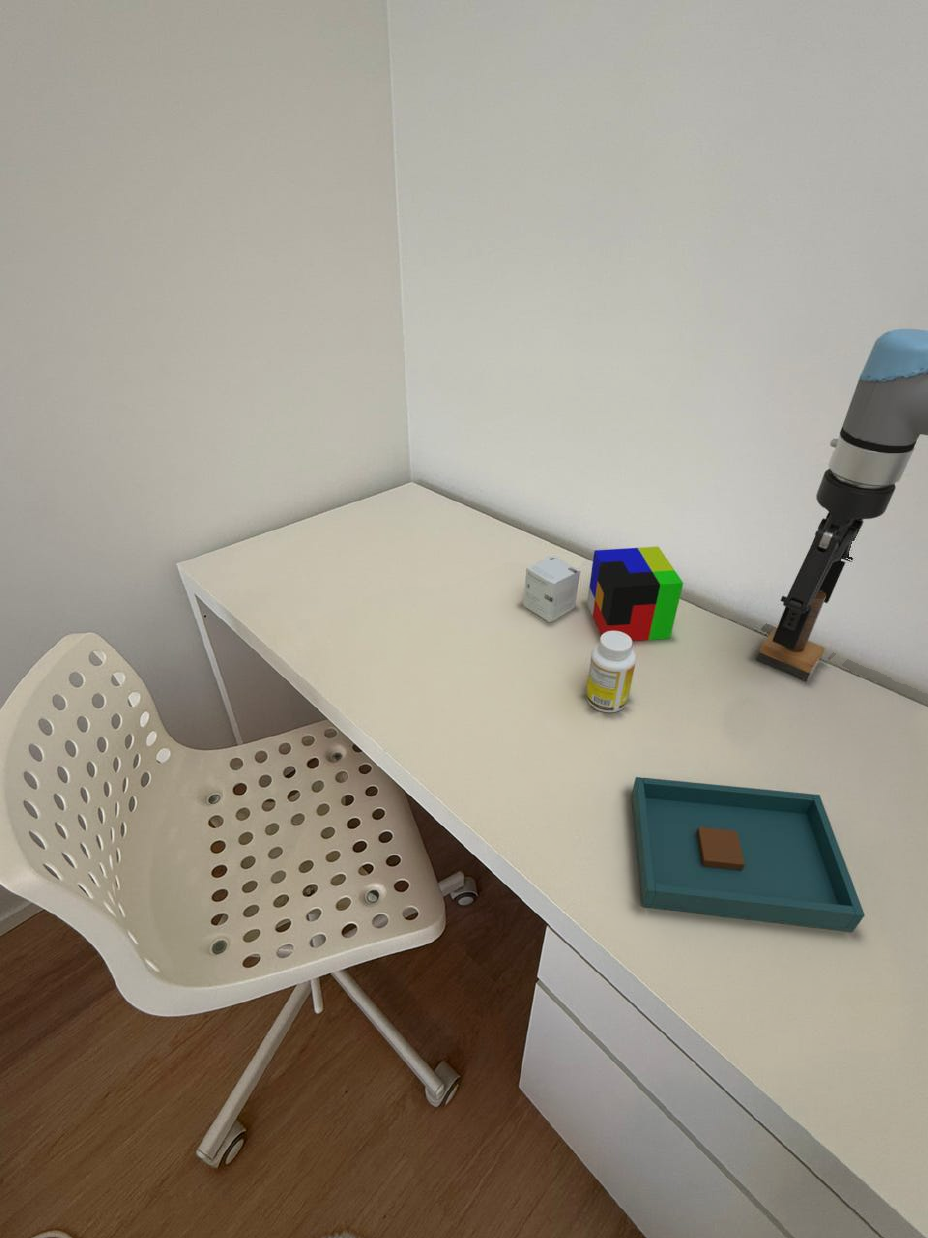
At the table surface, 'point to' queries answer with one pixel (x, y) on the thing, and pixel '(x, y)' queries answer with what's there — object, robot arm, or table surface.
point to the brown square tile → (720, 849)
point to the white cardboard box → (551, 588)
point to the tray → (772, 851)
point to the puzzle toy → (634, 592)
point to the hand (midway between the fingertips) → (801, 620)
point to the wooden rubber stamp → (796, 648)
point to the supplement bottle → (611, 672)
